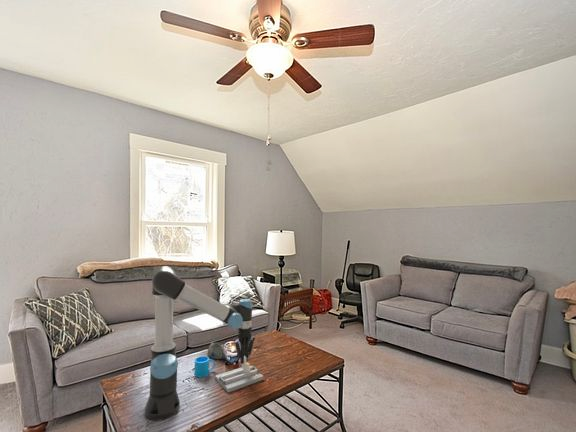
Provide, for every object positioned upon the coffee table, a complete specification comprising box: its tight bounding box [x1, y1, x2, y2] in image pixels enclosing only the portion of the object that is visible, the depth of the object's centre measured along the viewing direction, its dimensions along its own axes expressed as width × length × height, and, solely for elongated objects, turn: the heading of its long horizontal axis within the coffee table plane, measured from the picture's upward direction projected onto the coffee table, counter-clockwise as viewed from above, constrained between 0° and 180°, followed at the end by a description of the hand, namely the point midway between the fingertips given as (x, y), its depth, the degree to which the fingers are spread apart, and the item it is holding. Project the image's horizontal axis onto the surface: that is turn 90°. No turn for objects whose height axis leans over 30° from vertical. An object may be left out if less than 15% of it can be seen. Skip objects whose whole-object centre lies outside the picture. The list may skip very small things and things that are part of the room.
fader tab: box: [243, 361, 251, 373], centre depth 166 cm, size 2×3×5 cm
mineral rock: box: [206, 342, 226, 360], centre depth 188 cm, size 13×11×10 cm
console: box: [214, 365, 264, 393], centre depth 163 cm, size 22×16×4 cm
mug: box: [193, 355, 216, 378], centre depth 170 cm, size 12×8×8 cm
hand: (243, 368), depth 165 cm, fingers closed
